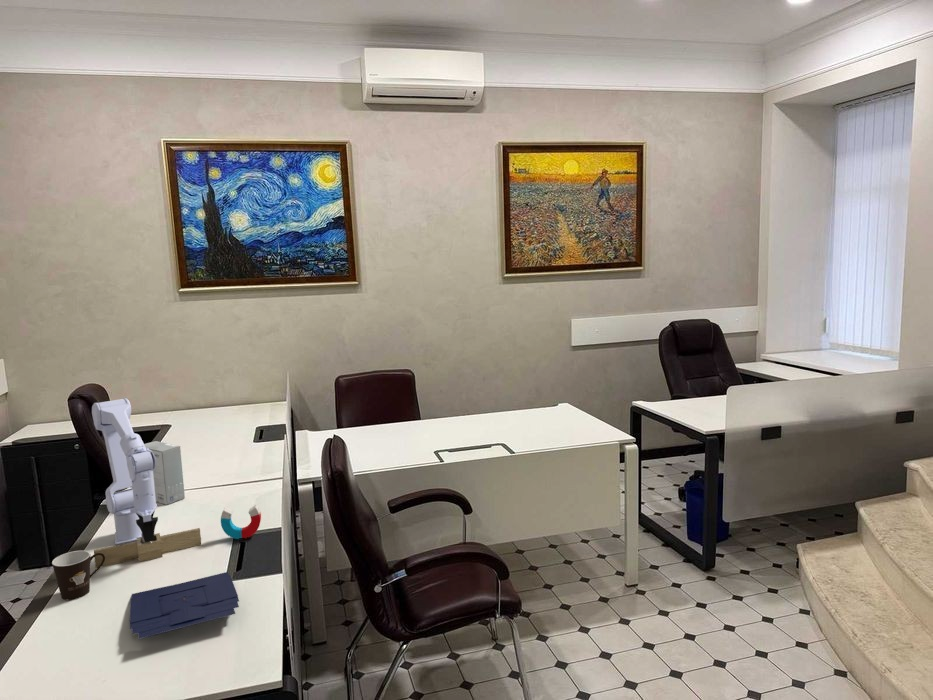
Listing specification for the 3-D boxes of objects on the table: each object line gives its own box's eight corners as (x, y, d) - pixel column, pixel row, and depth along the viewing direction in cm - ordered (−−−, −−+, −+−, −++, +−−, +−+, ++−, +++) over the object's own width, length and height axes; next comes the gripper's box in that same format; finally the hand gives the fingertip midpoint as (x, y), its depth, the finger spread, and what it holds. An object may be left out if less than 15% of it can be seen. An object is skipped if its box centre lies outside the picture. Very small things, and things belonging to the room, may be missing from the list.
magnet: (222, 541, 197) (219, 510, 196) (223, 537, 200) (221, 507, 198) (261, 537, 200) (259, 507, 198) (262, 533, 202) (260, 503, 201)
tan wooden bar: (95, 562, 185) (94, 546, 184) (199, 540, 198) (198, 524, 198) (95, 571, 180) (93, 555, 179) (202, 547, 193) (201, 532, 192)
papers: (129, 653, 140) (128, 637, 140) (131, 604, 167) (130, 590, 167) (244, 622, 151) (243, 607, 151) (229, 581, 178) (228, 568, 178)
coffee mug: (54, 605, 162) (50, 569, 161) (58, 590, 170) (53, 555, 168) (106, 594, 168) (102, 558, 166) (107, 579, 175) (104, 545, 174)
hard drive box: (185, 498, 233) (181, 446, 230) (166, 505, 226) (161, 451, 223) (161, 490, 241) (156, 440, 238) (141, 497, 235) (136, 445, 232)
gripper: (127, 487, 190) (132, 530, 192) (129, 503, 178) (134, 549, 180) (153, 482, 194) (158, 524, 196) (157, 498, 181) (161, 543, 183)
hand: (148, 536), depth 188 cm, fingers open, 7 cm apart
